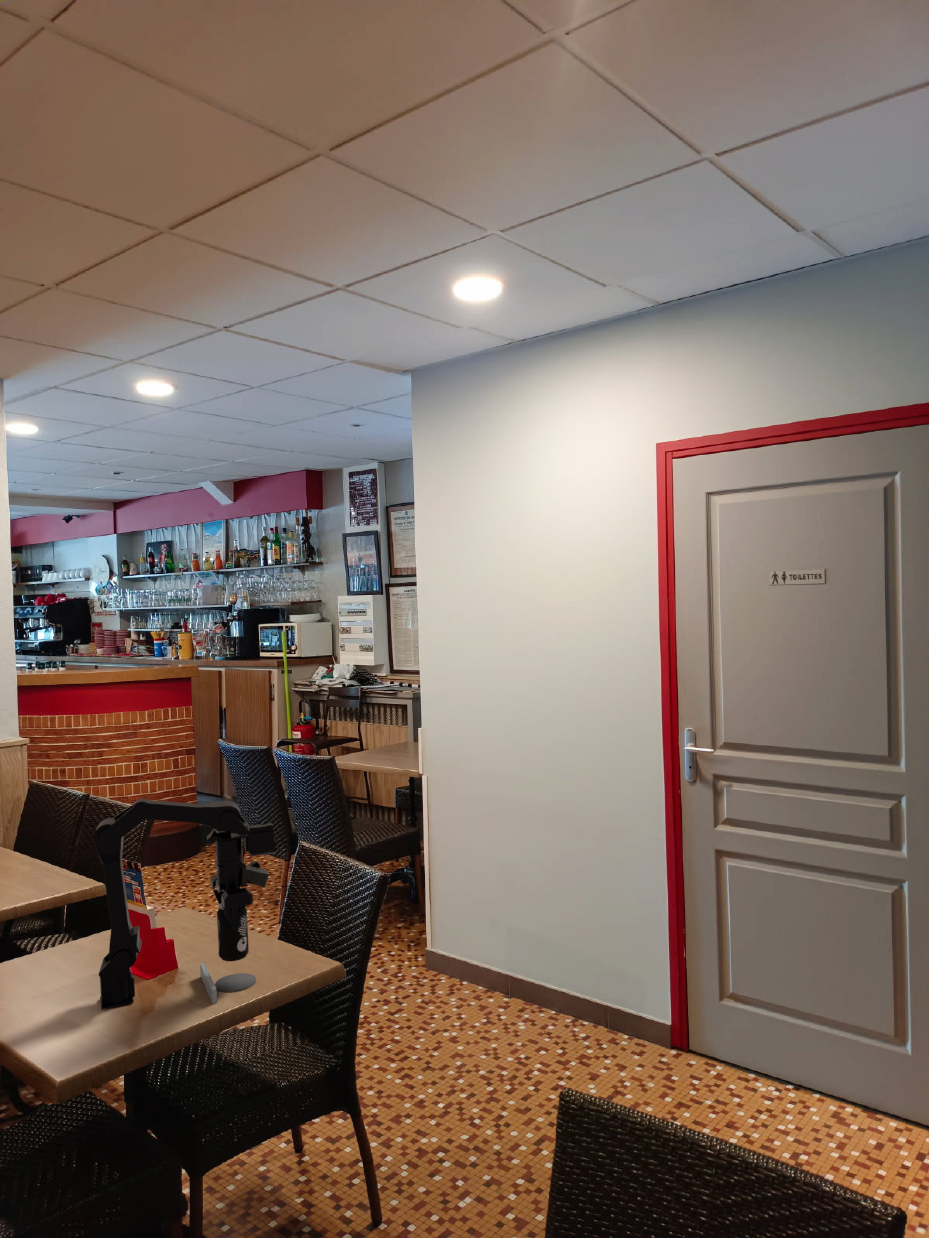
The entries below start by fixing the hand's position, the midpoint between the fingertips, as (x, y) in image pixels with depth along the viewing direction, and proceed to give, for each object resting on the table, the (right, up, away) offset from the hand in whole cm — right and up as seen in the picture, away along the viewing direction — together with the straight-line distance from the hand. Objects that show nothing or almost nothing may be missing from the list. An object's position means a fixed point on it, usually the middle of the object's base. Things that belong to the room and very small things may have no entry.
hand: (232, 926), depth 204 cm
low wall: (-5, -13, -2) cm, 14 cm away
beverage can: (0, -7, 0) cm, 7 cm away
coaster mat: (+1, -13, 0) cm, 13 cm away
